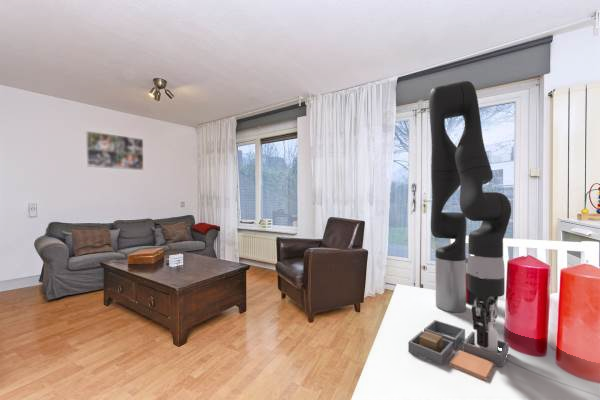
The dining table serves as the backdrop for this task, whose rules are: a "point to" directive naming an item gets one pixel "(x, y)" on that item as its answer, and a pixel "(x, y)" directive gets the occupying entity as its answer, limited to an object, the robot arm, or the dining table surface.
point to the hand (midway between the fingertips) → (485, 341)
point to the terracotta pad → (472, 364)
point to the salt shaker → (490, 338)
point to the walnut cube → (431, 341)
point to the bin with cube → (430, 354)
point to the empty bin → (447, 329)
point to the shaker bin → (485, 354)
